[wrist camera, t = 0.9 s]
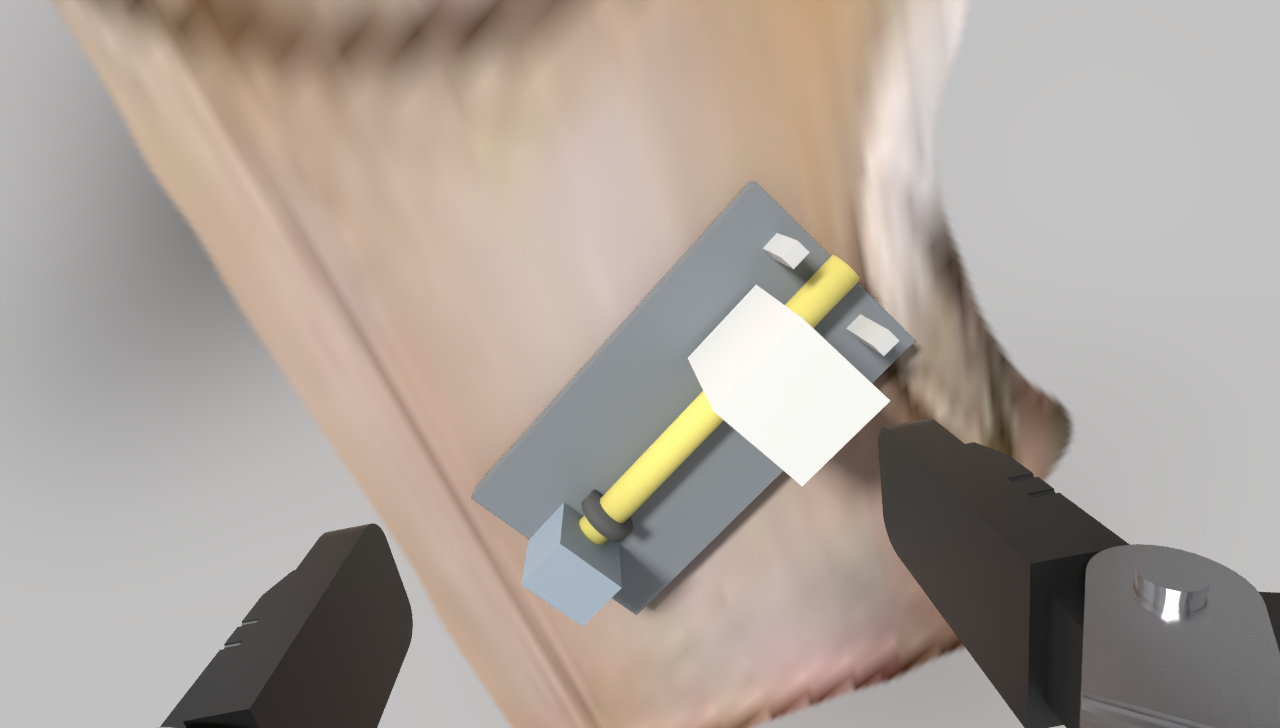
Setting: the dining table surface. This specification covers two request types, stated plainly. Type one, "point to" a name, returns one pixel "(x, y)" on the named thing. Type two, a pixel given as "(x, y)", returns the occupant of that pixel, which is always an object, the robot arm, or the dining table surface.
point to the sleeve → (783, 385)
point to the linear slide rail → (668, 418)
